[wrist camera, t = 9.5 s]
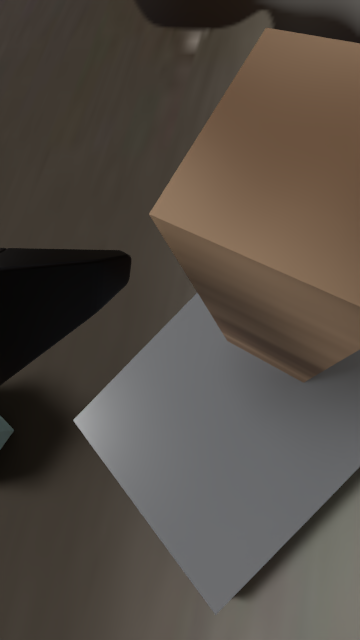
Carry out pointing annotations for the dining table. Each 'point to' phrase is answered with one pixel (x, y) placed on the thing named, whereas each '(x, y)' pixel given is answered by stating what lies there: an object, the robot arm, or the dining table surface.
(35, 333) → the robot arm
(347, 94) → the walnut block
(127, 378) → the baseplate
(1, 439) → the teal block
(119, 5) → the dining table surface
